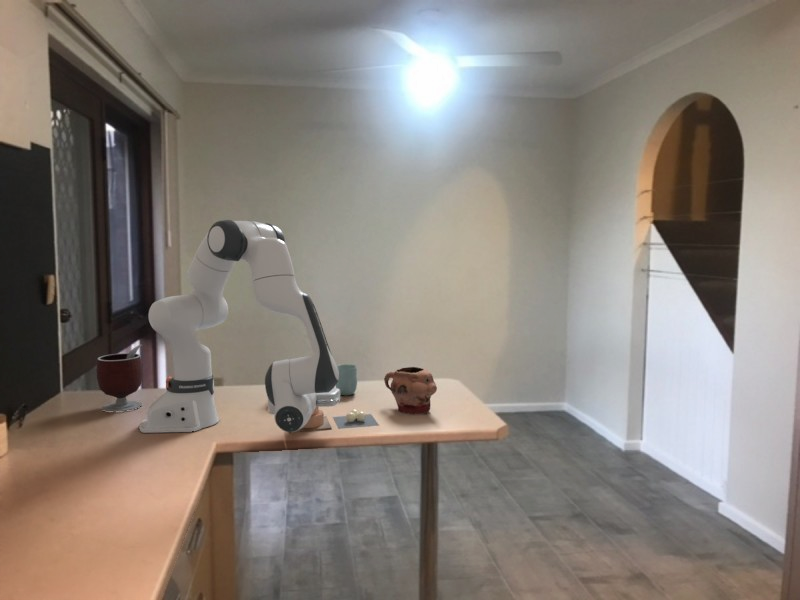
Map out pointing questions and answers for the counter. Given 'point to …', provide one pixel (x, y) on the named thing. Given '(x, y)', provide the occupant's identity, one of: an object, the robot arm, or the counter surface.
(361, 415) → the marble
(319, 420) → the tan stepped cylinder
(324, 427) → the walnut coaster
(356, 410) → the marble
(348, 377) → the cup
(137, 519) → the counter surface
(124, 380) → the mate gourd
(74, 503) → the counter surface
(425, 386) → the sculpted character mug
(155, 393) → the counter surface
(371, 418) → the slate mat
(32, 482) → the counter surface
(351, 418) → the marble
